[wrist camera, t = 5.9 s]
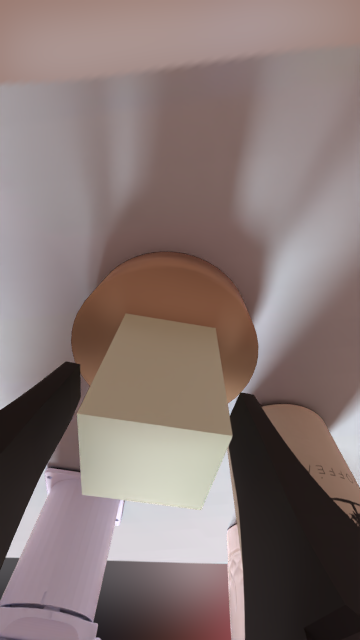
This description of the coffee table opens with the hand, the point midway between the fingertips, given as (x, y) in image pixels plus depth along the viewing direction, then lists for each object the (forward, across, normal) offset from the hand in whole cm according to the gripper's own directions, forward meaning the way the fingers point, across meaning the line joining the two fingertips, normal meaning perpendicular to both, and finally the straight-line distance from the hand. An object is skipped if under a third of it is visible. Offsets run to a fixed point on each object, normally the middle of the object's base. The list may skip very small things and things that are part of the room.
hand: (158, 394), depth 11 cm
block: (+3, 0, 0) cm, 3 cm away
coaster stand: (+6, 0, 0) cm, 6 cm away
